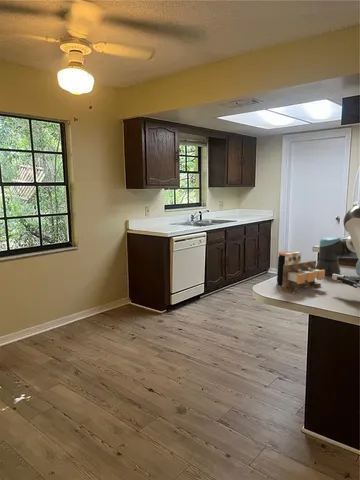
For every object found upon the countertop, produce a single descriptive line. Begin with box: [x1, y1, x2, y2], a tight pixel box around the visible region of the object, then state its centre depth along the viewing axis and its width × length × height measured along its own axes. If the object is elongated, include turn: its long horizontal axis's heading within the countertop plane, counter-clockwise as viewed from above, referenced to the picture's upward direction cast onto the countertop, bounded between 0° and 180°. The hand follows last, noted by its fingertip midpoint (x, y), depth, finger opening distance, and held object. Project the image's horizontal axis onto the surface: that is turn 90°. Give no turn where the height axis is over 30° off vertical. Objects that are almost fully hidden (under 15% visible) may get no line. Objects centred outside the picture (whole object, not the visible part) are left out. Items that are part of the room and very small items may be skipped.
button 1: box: [288, 272, 305, 284], centre depth 185 cm, size 5×8×5 cm, turn 32°
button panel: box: [281, 251, 322, 294], centre depth 191 cm, size 24×6×20 cm, turn 122°
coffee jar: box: [276, 250, 294, 286], centre depth 200 cm, size 11×11×18 cm
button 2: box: [308, 268, 326, 281], centre depth 194 cm, size 5×8×5 cm, turn 32°
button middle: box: [298, 270, 316, 282], centre depth 189 cm, size 5×8×5 cm, turn 32°
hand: (333, 276), depth 184 cm, fingers closed
